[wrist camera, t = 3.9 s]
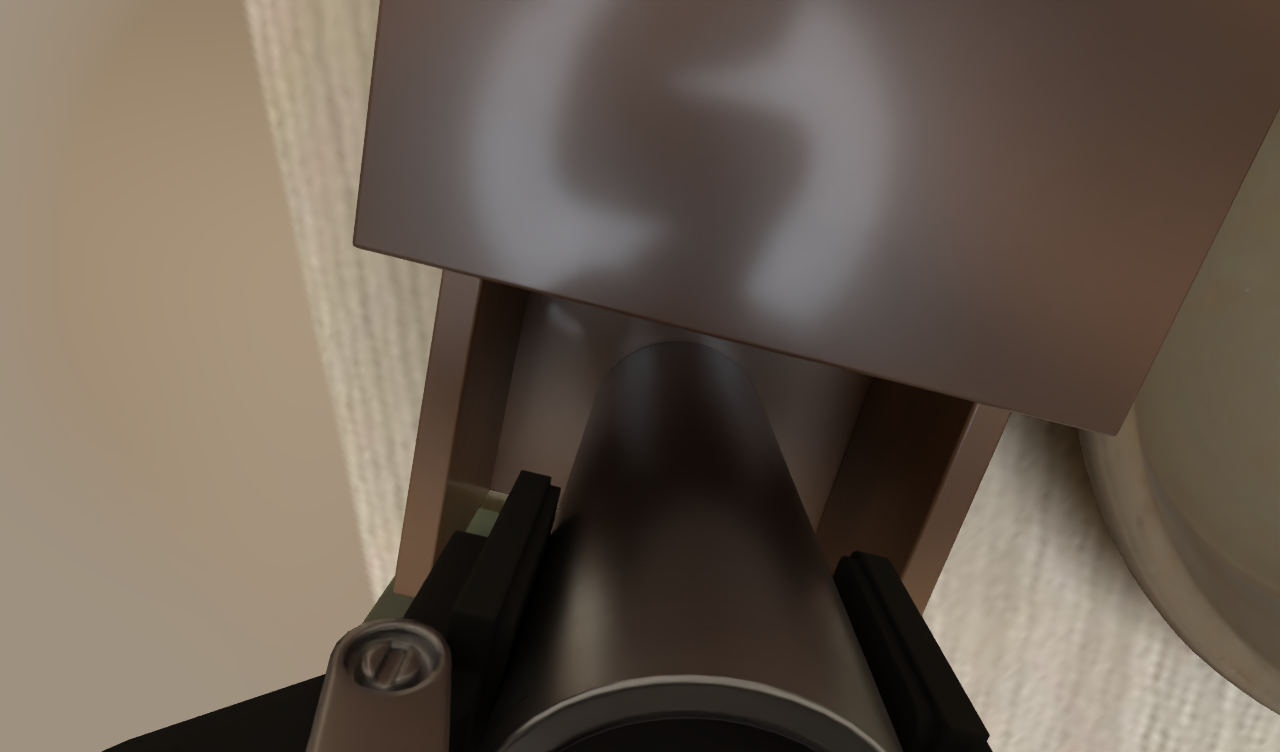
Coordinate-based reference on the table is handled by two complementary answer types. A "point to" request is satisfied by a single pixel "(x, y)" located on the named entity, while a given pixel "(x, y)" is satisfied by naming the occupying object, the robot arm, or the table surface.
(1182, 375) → the plant saucer
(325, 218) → the table surface
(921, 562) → the drawer
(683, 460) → the cylindrical container
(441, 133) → the cabinet
